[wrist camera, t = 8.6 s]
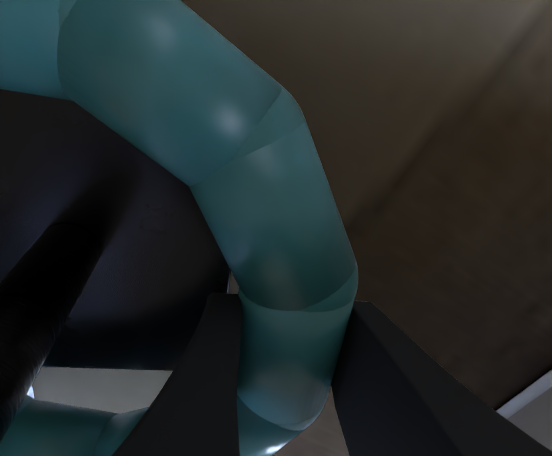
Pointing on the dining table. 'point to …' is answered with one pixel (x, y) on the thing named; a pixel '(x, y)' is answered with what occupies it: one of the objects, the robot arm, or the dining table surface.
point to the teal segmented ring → (201, 199)
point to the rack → (92, 250)
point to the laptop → (533, 410)
